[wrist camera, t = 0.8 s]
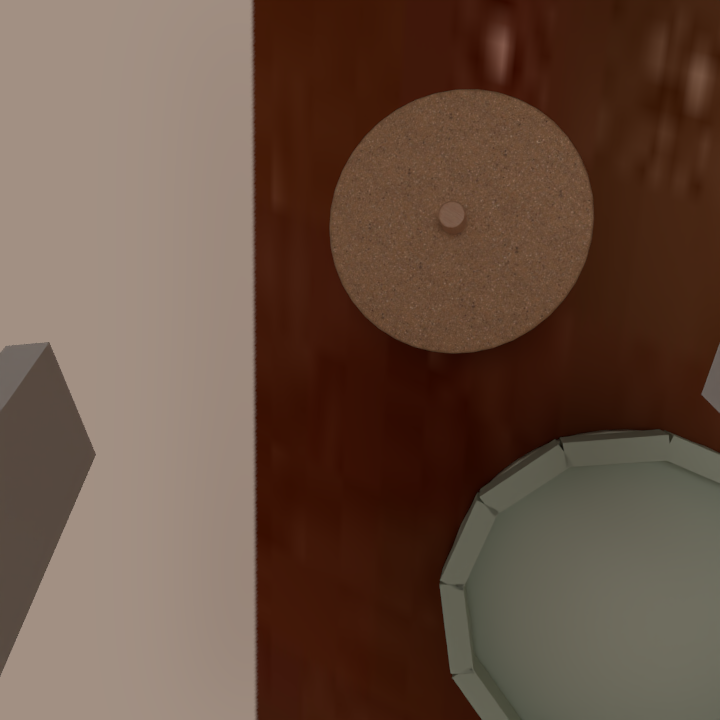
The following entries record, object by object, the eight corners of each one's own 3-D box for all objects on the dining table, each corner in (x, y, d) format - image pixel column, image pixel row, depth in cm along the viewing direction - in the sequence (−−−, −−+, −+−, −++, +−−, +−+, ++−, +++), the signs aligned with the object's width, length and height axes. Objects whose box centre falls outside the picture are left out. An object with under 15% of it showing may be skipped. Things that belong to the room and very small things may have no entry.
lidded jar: (484, 387, 31) (480, 411, 21) (330, 273, 32) (266, 251, 23) (613, 221, 29) (669, 170, 20) (443, 108, 30) (422, 14, 21)
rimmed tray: (529, 372, 30) (533, 376, 28) (904, 529, 26) (946, 549, 24) (397, 664, 33) (389, 691, 30) (723, 842, 29) (744, 889, 27)
